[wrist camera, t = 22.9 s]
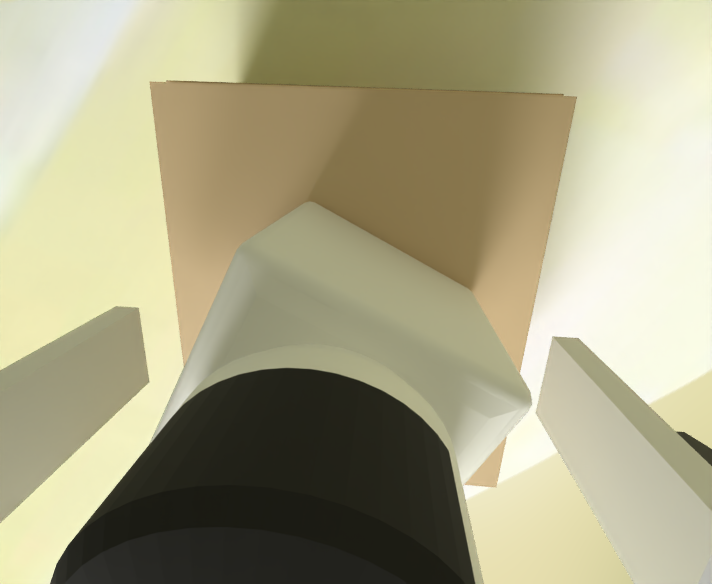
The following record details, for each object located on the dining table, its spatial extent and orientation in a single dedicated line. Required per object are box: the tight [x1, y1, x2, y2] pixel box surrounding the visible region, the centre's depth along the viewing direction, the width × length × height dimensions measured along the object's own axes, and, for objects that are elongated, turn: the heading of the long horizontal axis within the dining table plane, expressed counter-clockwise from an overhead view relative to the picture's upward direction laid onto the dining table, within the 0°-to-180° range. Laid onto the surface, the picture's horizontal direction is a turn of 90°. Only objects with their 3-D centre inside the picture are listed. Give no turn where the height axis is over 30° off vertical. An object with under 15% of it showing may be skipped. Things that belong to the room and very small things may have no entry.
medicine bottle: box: [50, 201, 532, 584], centre depth 10 cm, size 7×7×12 cm
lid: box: [150, 82, 577, 487], centre depth 16 cm, size 16×14×1 cm
